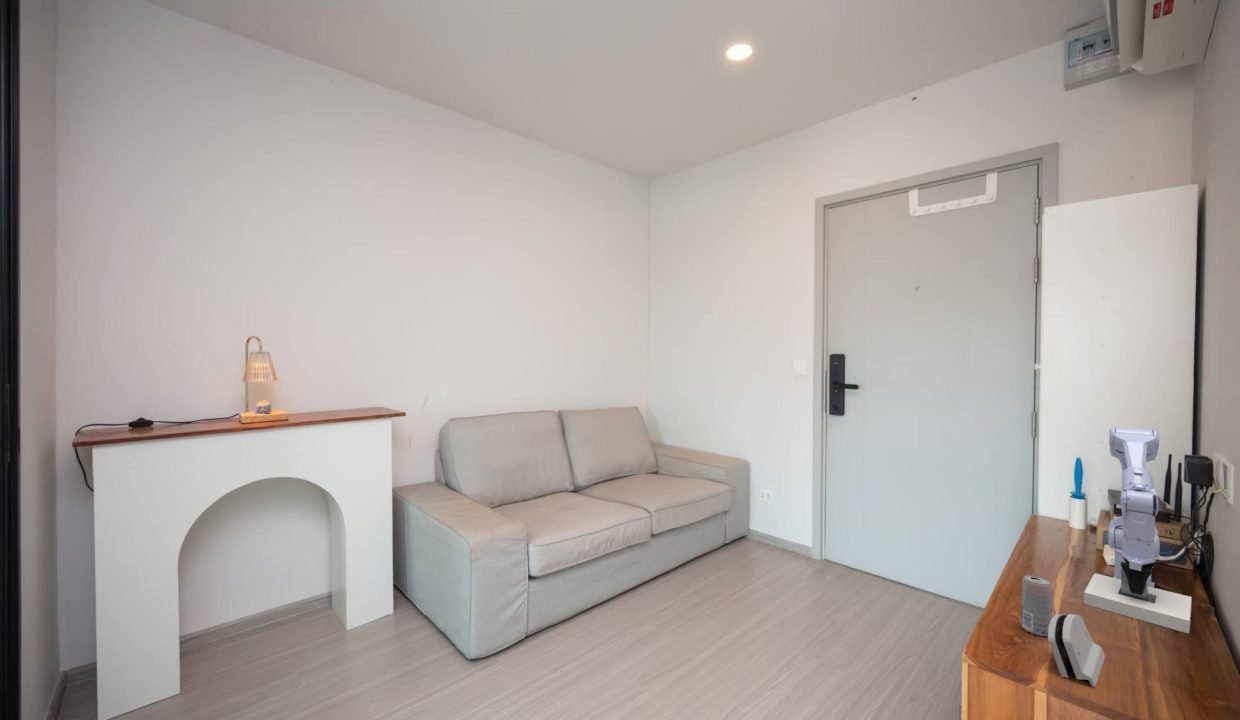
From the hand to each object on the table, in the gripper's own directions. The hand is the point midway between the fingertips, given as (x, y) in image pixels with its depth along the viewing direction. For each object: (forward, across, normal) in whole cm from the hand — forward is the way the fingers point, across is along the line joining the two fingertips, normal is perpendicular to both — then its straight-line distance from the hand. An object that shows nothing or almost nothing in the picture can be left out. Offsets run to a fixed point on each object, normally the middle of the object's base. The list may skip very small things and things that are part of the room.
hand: (1137, 590), depth 128 cm
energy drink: (+4, +35, -14) cm, 38 cm away
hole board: (+4, 0, 0) cm, 4 cm away
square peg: (+3, 0, 0) cm, 3 cm away
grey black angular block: (+4, +44, -6) cm, 45 cm away
